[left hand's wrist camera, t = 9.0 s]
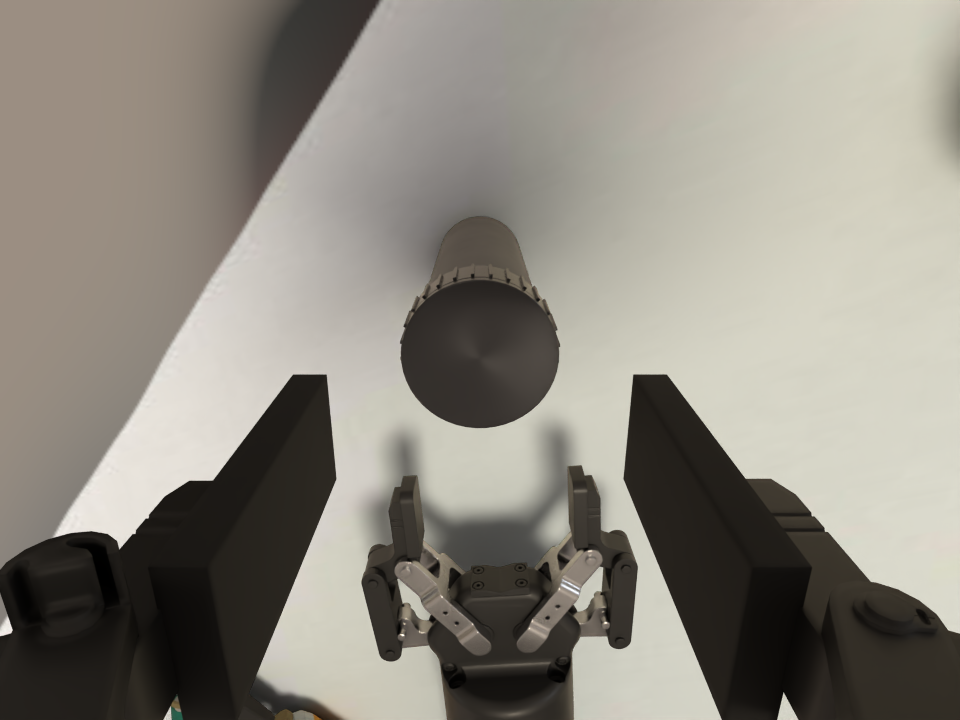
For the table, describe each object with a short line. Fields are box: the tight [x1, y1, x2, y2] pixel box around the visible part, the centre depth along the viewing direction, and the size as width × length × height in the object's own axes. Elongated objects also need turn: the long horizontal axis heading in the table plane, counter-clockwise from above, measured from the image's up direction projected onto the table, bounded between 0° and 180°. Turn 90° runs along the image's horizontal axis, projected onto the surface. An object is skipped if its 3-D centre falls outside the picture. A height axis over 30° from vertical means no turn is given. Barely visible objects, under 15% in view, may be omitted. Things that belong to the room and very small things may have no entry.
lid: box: [400, 264, 560, 428], centre depth 20 cm, size 5×5×2 cm
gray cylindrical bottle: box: [429, 217, 532, 286], centre depth 26 cm, size 4×4×15 cm
